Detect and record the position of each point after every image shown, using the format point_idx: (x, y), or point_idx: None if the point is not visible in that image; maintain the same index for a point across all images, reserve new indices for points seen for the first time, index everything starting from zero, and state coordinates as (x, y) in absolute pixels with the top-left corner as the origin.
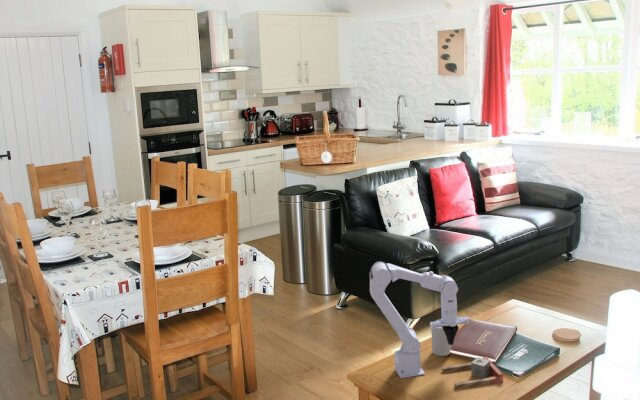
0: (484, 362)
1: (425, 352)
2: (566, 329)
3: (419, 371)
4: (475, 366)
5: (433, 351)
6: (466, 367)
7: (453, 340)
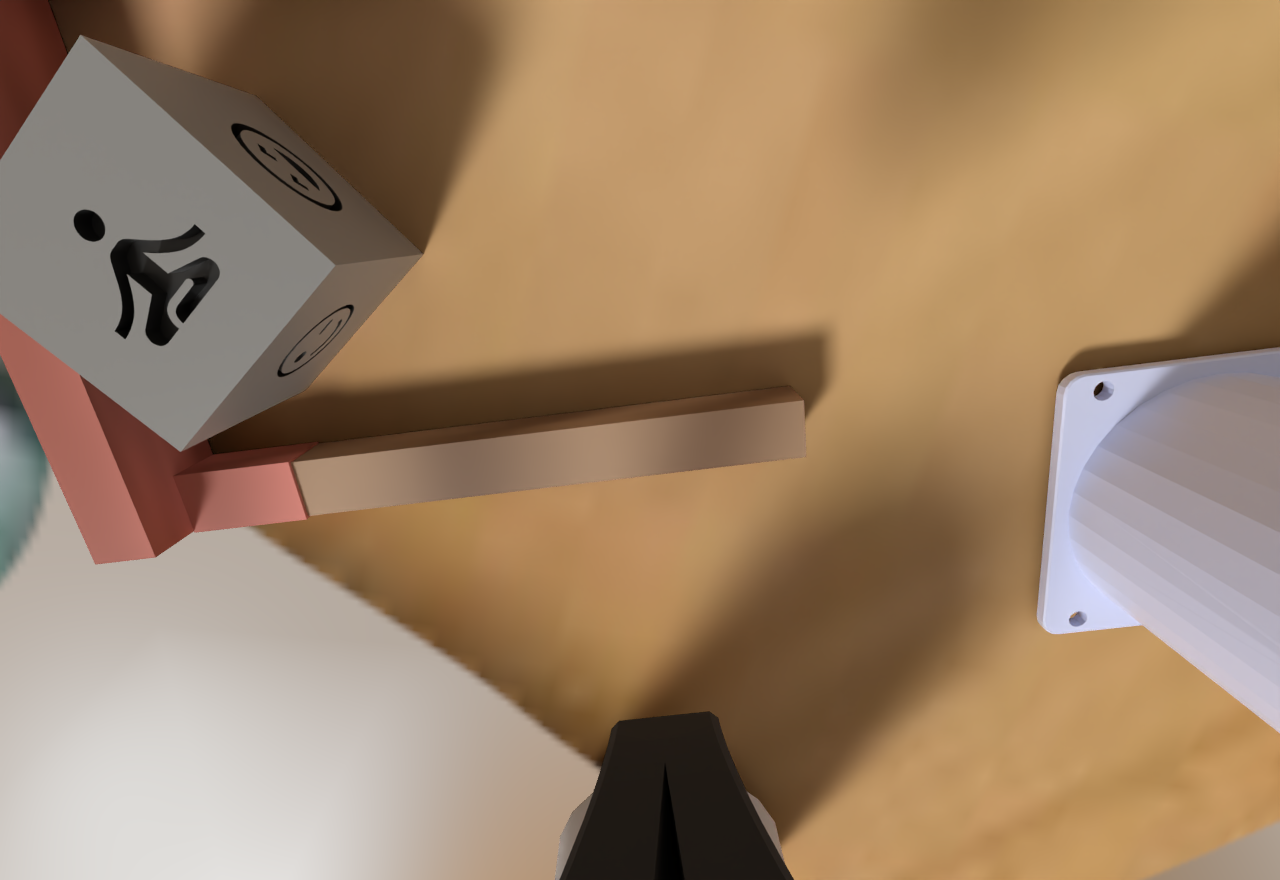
0: (56, 210)
1: (841, 865)
2: None
3: (1140, 419)
4: (284, 190)
5: (780, 847)
6: (456, 433)
7: (598, 819)
